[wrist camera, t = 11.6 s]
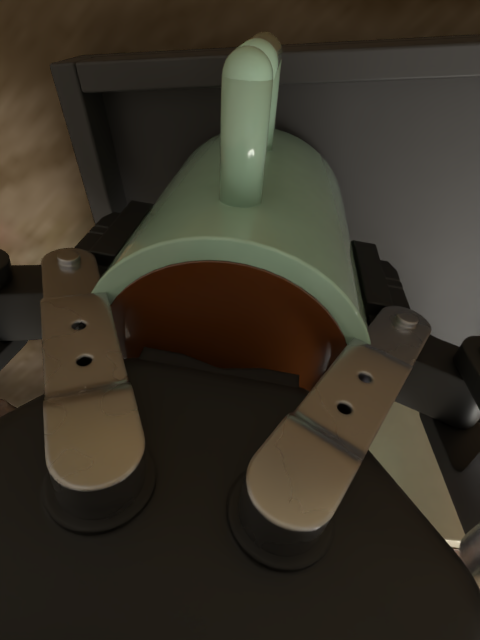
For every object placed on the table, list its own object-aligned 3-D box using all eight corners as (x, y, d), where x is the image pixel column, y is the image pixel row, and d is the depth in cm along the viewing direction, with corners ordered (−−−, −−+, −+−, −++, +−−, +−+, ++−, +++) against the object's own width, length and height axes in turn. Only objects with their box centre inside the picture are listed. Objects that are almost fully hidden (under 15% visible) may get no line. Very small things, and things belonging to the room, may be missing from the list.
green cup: (325, 297, 17) (338, 471, 11) (175, 280, 17) (103, 438, 11) (385, 35, 11) (483, 77, 5) (161, 18, 12) (2, 38, 6)
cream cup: (302, 418, 22) (302, 585, 16) (372, 339, 18) (409, 519, 12) (442, 472, 23) (493, 645, 17) (534, 410, 20) (644, 604, 13)
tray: (176, 444, 27) (167, 476, 25) (81, 55, 14) (47, 63, 12) (459, 465, 25) (472, 502, 23) (673, 24, 11) (742, 28, 10)
